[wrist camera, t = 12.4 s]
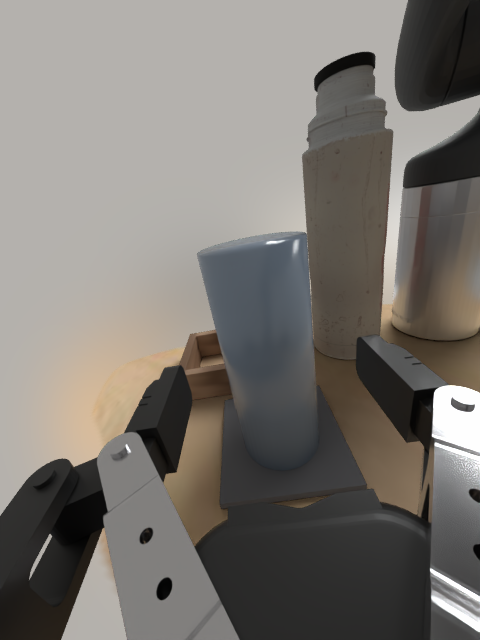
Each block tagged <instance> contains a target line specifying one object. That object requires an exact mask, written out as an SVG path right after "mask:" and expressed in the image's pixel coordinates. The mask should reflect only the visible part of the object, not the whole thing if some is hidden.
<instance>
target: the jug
mask: <svg viewBox="0 0 480 640" xmlns="http://www.w3.org/2000/svg"><path fill="white" fill-rule="evenodd" d="M197 257H198V261H199V265H200V269H201V272H202V276H203V280H204V284H205V288H206V292H207V296H208V300H209V304H210V308H211V312H212V316H213V320H214V324H215V328H216V332H217V336H218V340H219V344H220V348H221V352H222V356H223V360H224V364H225V368H226V372H227V376H228V380H229V384H230V388H231V392H232V396H233V400H234V404H235V408H236V412H237V416H238V420H239V424H240V428H241V432H242V436H243V440H244V444H245V448H246V450H247V452H248V454H249V455H250V456H251V458H252V459H253V460H254V461H256V462H257V463H258V464H260V465H261V466H264V467H266V468H269V469H272V470H280V471H284V470H292V469H295V468H298V467H300V466H302V465H304V464H305V463H307V462H308V461H309V460H310V459H311V458H312V457H313V456H314V455H315V453H316V451H317V449H318V446H319V440H320V436H319V420H318V404H317V389H316V373H315V357H314V342H313V326H312V310H311V295H310V279H309V264H308V248H307V234H306V233H305V232H281V233H272V234H265V235H259V236H254V237H248V238H243V239H238V240H234V241H229V242H226V243H222V244H218V245H215V246H212V247H209V248H206V249H203V250H201V251H200V252H198V253H197Z"/></svg>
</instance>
